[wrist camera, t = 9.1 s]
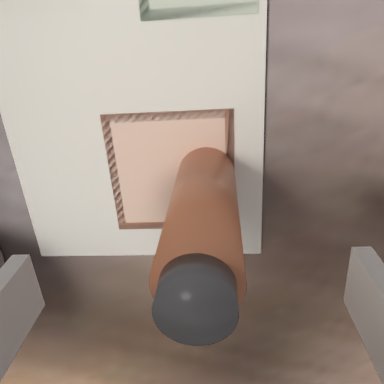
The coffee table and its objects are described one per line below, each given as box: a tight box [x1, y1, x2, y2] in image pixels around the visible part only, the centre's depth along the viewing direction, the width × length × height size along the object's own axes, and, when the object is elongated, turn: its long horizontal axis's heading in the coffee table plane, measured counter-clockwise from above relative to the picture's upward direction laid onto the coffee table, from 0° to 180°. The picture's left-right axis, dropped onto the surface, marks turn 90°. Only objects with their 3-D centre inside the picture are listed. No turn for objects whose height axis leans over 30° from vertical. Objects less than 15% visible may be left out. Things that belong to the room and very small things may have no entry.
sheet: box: [0, 0, 267, 256], centre depth 24 cm, size 18×26×1 cm
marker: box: [149, 147, 247, 346], centre depth 19 cm, size 4×4×14 cm
